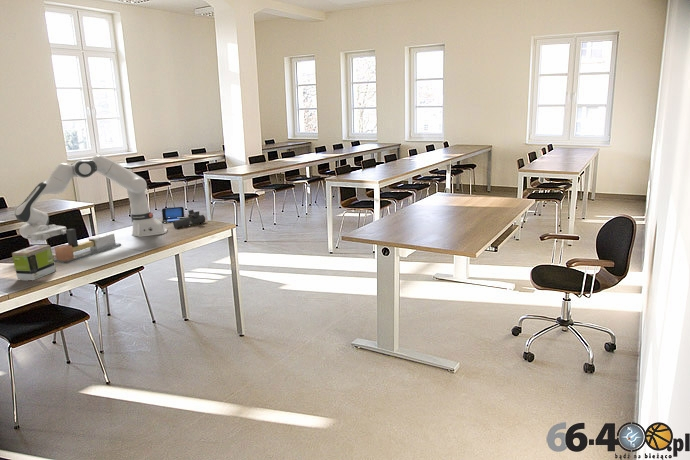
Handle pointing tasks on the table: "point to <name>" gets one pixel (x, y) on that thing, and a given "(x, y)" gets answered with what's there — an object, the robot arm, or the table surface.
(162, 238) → the table surface
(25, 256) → the tea box
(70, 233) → the hammer
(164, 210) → the handheld game console
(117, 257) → the table surface
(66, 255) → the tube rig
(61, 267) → the table surface
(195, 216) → the laser sight
